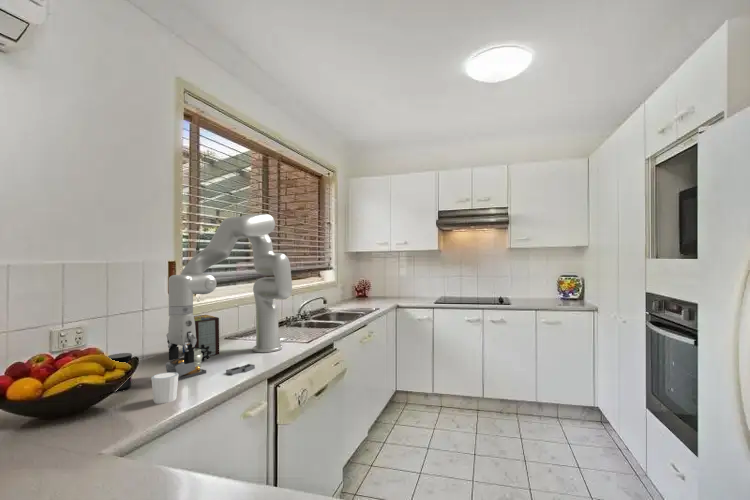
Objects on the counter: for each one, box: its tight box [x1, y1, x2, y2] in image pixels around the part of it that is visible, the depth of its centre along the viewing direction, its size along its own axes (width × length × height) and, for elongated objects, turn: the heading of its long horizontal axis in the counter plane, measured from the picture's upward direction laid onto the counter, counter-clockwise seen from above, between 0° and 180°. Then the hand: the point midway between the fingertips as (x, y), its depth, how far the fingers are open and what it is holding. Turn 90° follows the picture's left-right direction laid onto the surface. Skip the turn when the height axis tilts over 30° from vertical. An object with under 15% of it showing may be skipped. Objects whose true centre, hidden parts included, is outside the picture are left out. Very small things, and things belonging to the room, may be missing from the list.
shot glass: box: [150, 371, 179, 405], centre depth 111 cm, size 7×7×7 cm
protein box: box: [182, 314, 220, 357], centre depth 167 cm, size 10×15×16 cm
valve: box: [194, 344, 212, 368], centre depth 149 cm, size 7×7×12 cm
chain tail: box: [225, 363, 256, 376], centre depth 139 cm, size 10×4×1 cm, turn 145°
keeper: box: [178, 360, 207, 382], centre depth 134 cm, size 11×7×6 cm, turn 145°
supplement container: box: [107, 352, 133, 393], centre depth 121 cm, size 7×7×10 cm
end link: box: [164, 355, 195, 377], centre depth 133 cm, size 6×6×4 cm
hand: (181, 361), depth 133 cm, fingers open, 9 cm apart
